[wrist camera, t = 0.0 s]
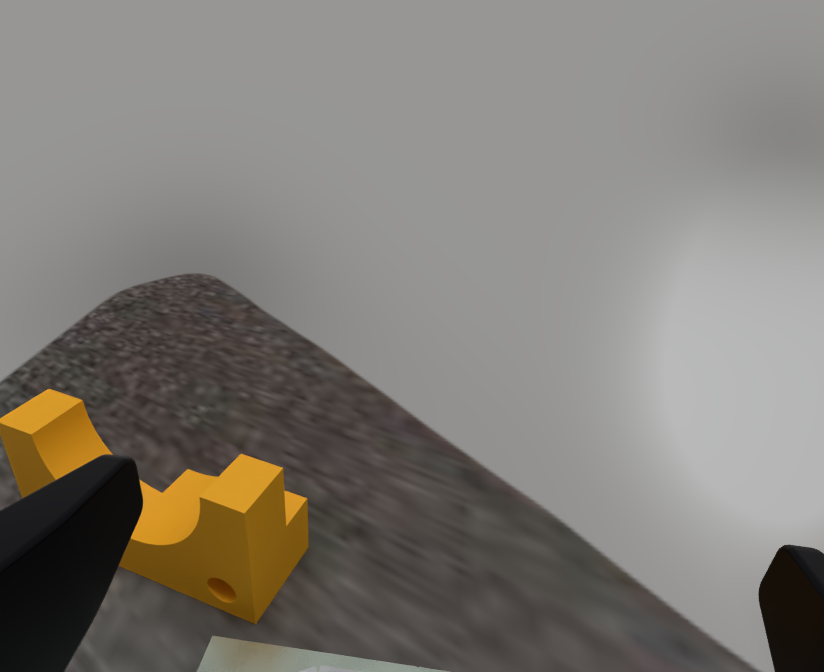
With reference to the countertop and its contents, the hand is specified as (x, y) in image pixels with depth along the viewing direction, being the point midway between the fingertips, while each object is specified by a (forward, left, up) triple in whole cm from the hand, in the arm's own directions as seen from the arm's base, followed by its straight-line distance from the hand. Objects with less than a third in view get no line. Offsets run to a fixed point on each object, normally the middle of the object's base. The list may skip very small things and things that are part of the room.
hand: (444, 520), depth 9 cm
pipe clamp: (+12, +12, -17) cm, 24 cm away
